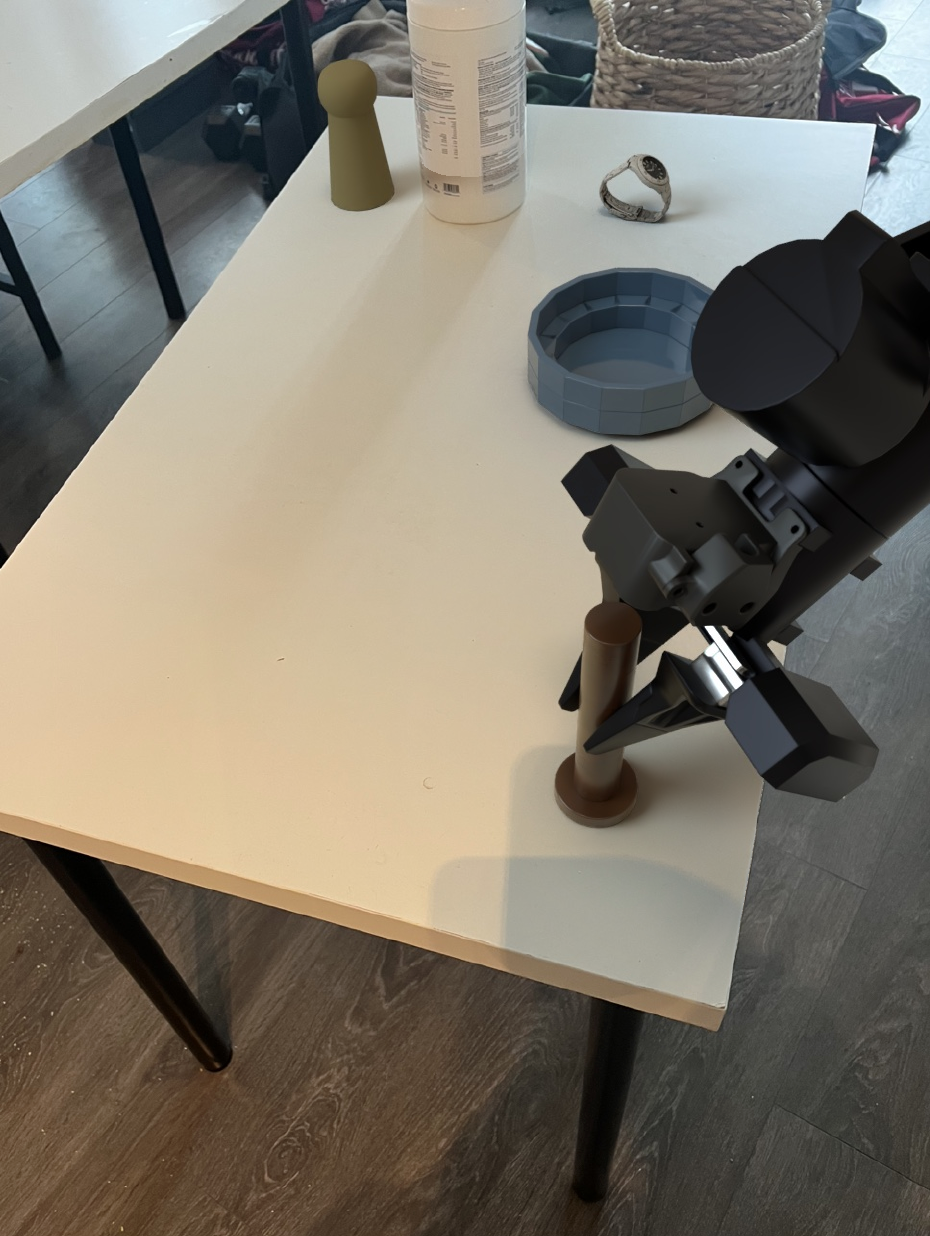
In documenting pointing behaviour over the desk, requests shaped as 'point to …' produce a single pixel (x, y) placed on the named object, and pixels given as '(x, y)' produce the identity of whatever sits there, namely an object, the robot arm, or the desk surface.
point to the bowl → (618, 350)
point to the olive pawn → (354, 136)
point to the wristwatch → (650, 175)
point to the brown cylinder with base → (602, 719)
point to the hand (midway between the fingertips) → (576, 729)
